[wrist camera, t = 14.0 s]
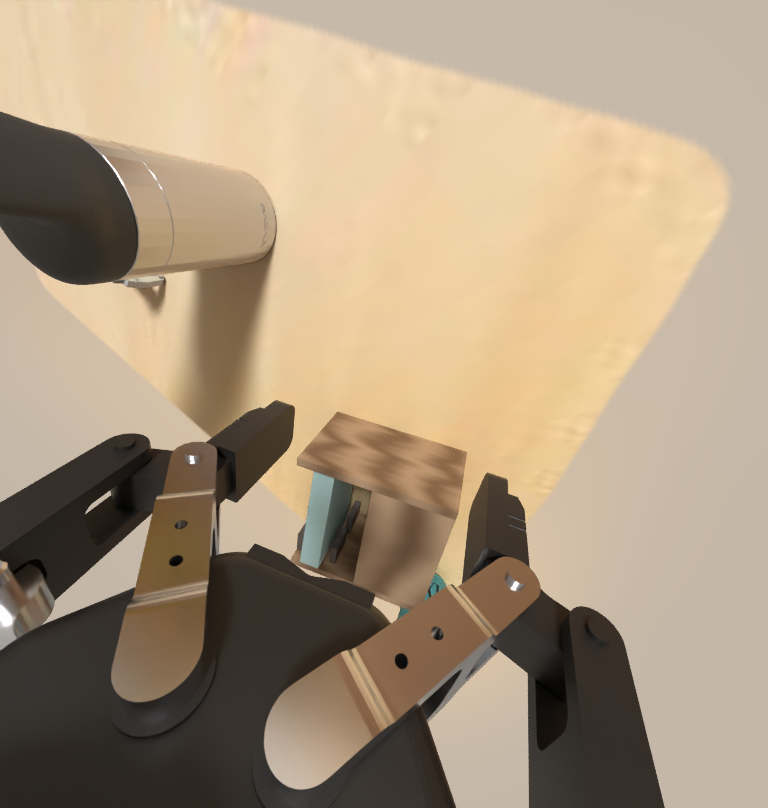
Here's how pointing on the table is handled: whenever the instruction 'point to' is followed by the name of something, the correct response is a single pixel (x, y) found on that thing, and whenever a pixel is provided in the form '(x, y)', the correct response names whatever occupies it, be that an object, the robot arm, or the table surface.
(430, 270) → the table surface
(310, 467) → the cabinet
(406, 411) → the table surface
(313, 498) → the door
